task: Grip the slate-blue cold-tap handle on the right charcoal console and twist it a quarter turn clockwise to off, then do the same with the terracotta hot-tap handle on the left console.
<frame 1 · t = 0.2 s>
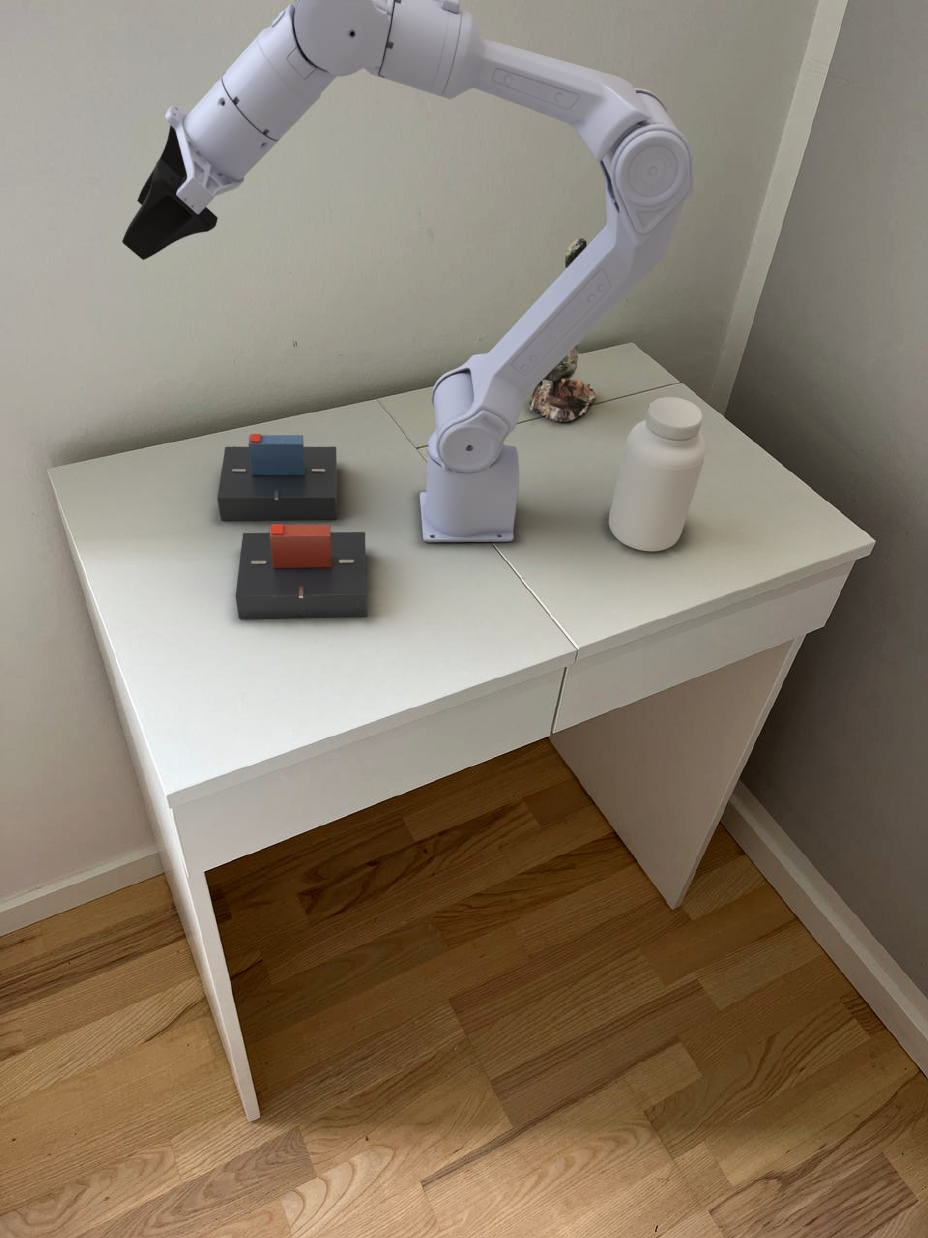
hand: (140, 228, 77), 31 cm above the table, tool tilted 45°, fingers open, 7 cm apart
pill bottle: (643, 530, 102), on the table
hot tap: (301, 545, 89), point 5 cm above the table, hinge at 0.0°
hot tap panel: (304, 585, 93), on the table
plant with pod: (555, 406, 118), on the table
cold tap: (277, 454, 99), point 5 cm above the table, hinge at 0.0°
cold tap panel: (281, 493, 103), on the table
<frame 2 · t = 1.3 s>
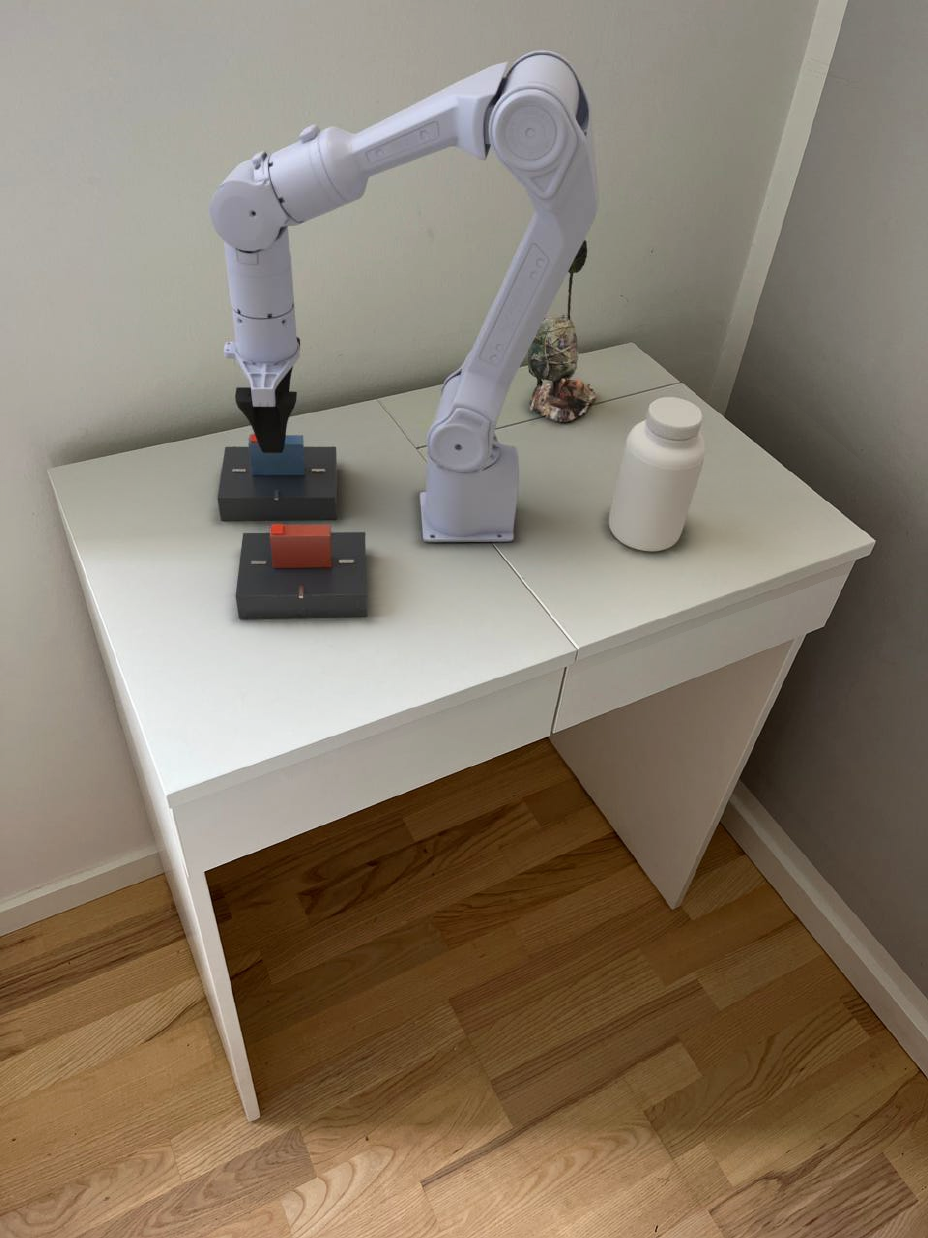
hand: (274, 428, 97), 8 cm above the table, tool pointing down, fingers open, 7 cm apart
nothing on the table moved.
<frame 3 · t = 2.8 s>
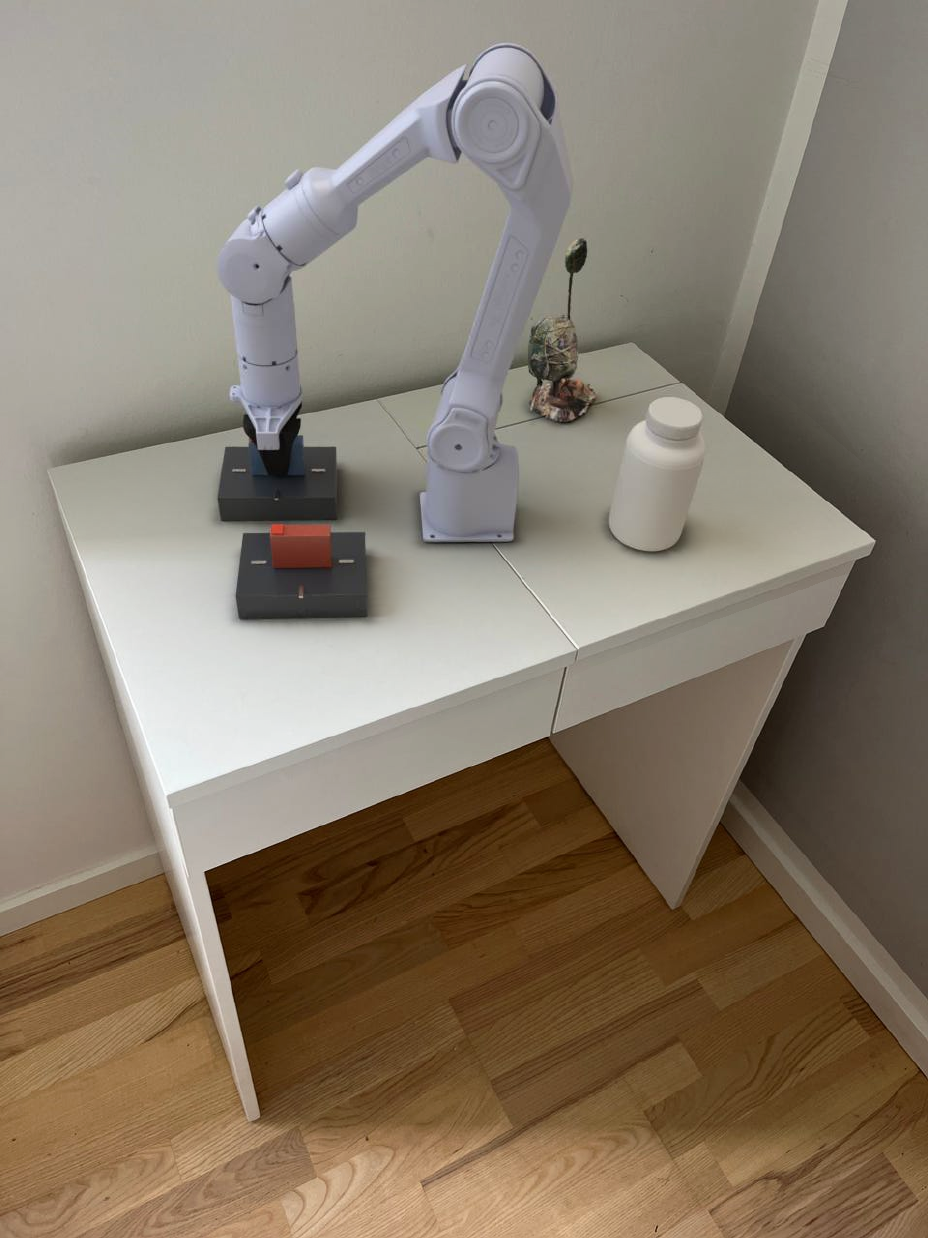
hand: (278, 466, 100), 4 cm above the table, tool pointing down, fingers closed on cold tap, 2 cm apart
cold tap: (277, 454, 99), point 5 cm above the table, hinge at 0.0°, touching gripper
everything else where it was.
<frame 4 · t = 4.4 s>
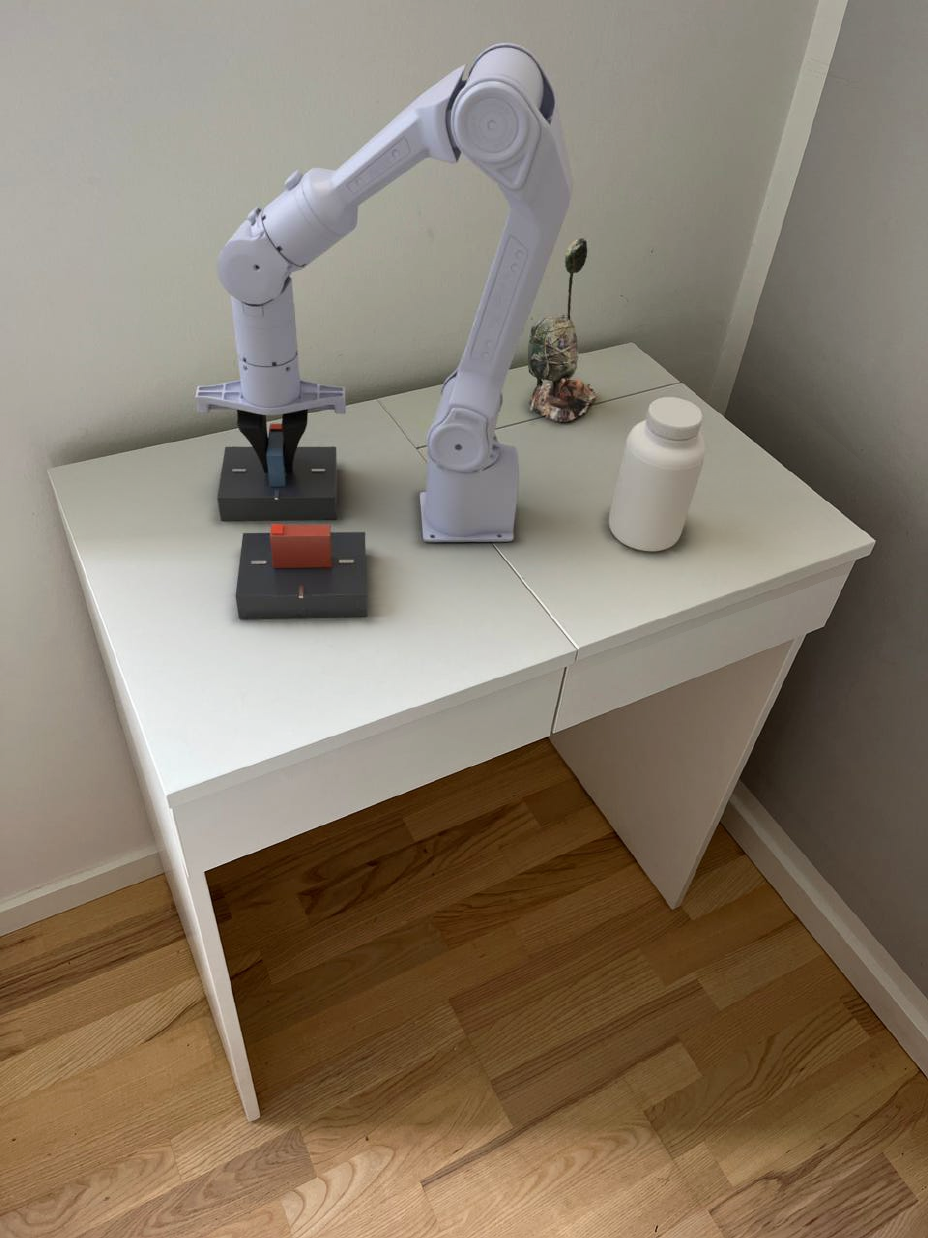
hand: (278, 467, 100), 4 cm above the table, tool pointing down, fingers closed on cold tap, 2 cm apart
cold tap: (277, 454, 99), point 5 cm above the table, hinge at -89.8°, touching gripper
everything else where it was.
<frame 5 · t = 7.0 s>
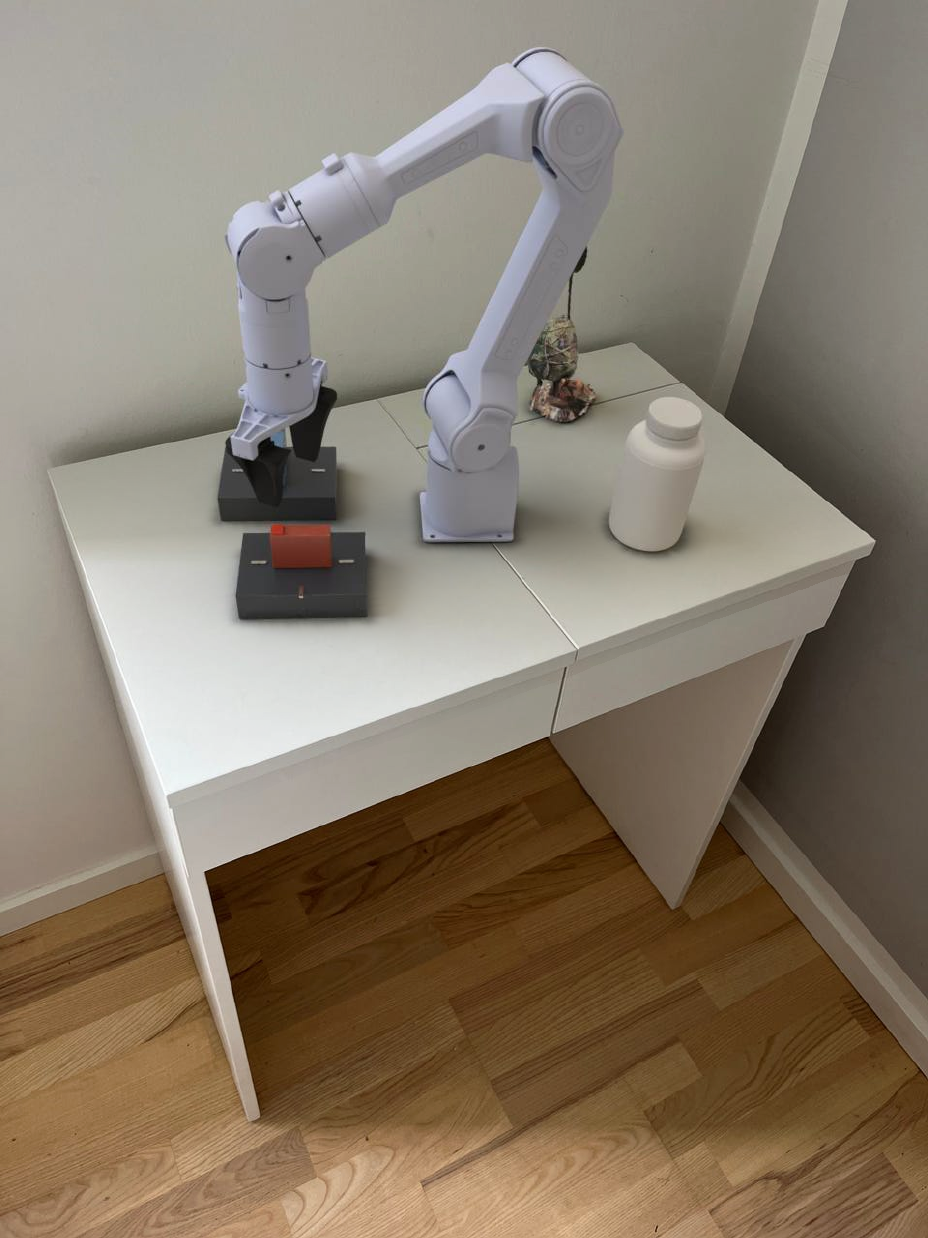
hand: (288, 479, 91), 8 cm above the table, tool pointing down, fingers open, 7 cm apart
cold tap: (277, 454, 99), point 5 cm above the table, hinge at -89.8°
everything else where it was.
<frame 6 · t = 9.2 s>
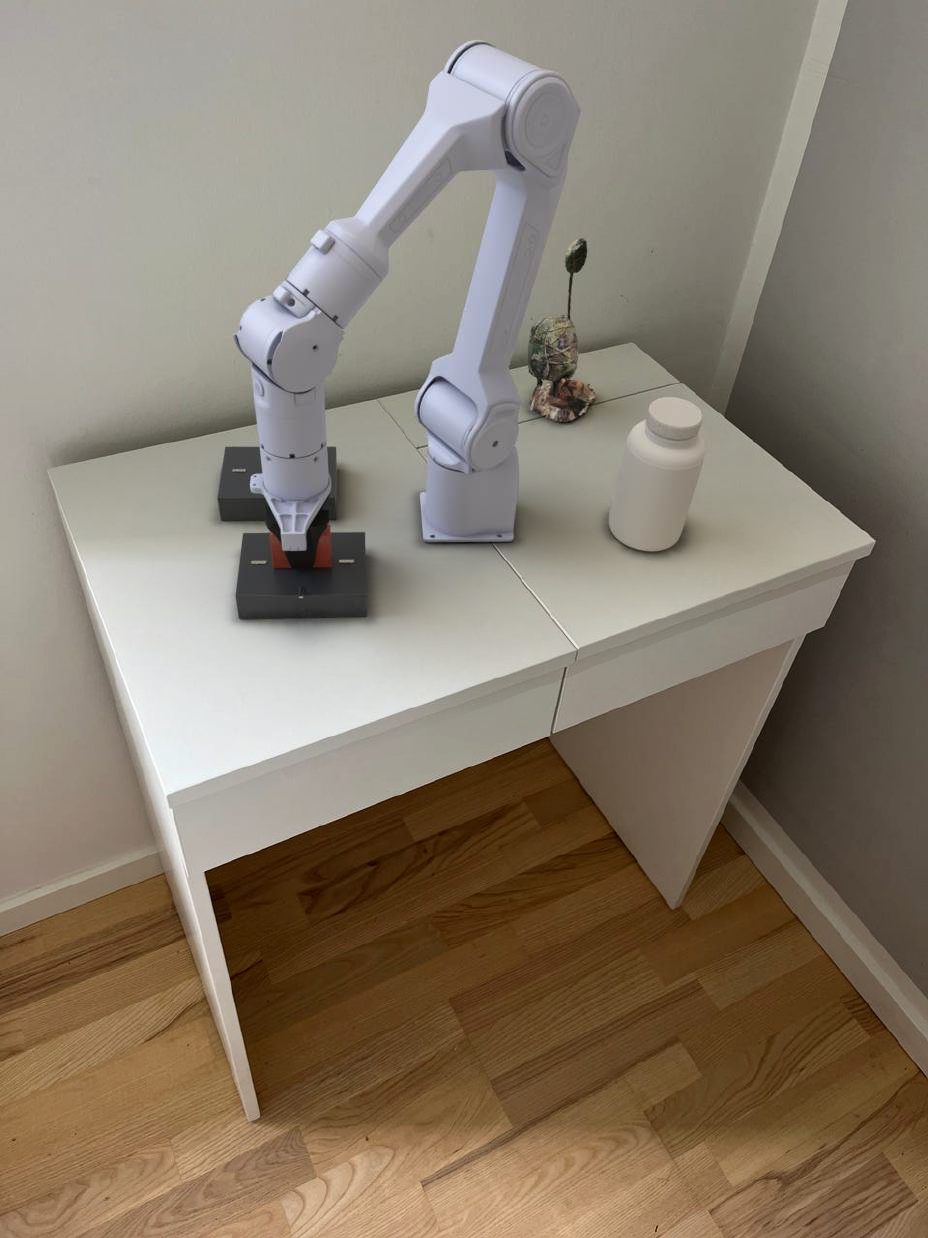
hand: (302, 557, 90), 4 cm above the table, tool pointing down, fingers closed on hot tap, 2 cm apart
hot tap: (301, 545, 89), point 5 cm above the table, hinge at -0.1°, touching gripper
everything else where it was.
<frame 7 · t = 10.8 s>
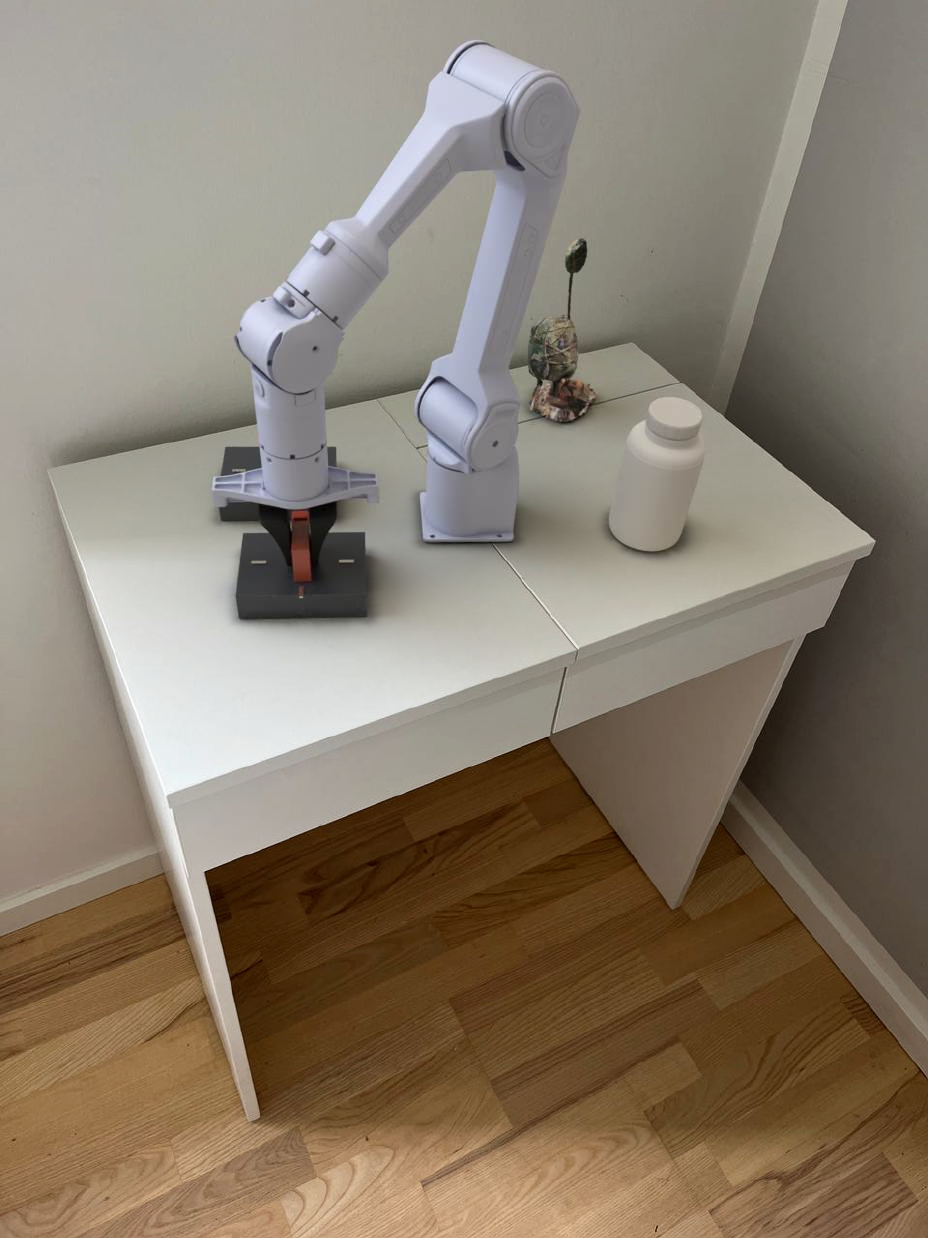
hand: (302, 558, 90), 4 cm above the table, tool pointing down, fingers closed on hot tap, 2 cm apart
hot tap: (301, 545, 89), point 5 cm above the table, hinge at -88.1°, touching gripper
everything else where it was.
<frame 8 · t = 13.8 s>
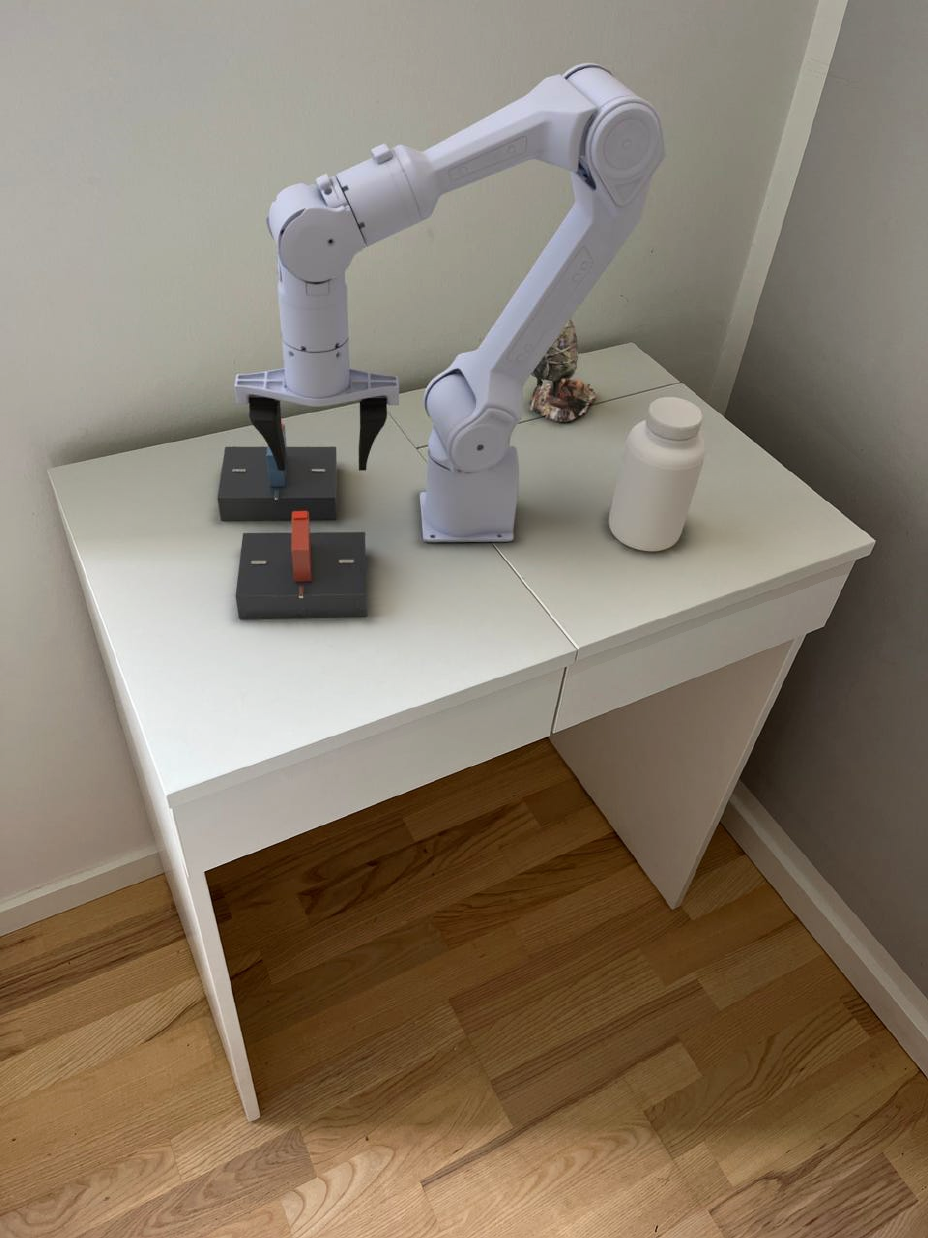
hand: (322, 464, 91), 9 cm above the table, tool pointing down, fingers open, 7 cm apart
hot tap: (301, 545, 89), point 5 cm above the table, hinge at -88.0°
everything else where it was.
at the end: cold tap at -90° (first picture: +0°); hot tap at -88° (first picture: +0°) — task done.
